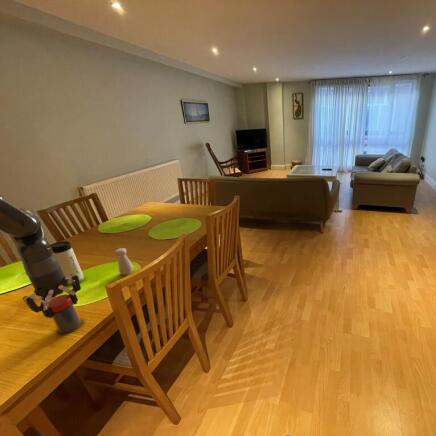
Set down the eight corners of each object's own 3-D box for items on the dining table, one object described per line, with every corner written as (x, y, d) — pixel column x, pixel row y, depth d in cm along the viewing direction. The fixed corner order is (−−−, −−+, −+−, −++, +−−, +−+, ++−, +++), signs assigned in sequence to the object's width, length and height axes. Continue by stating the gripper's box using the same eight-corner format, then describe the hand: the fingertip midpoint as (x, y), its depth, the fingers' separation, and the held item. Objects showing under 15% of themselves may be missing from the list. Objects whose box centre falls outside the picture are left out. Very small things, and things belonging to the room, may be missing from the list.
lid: (77, 299, 86) (74, 294, 85) (62, 312, 80) (59, 306, 79) (58, 300, 86) (56, 294, 85) (42, 313, 80) (39, 307, 79)
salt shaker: (137, 270, 119) (130, 247, 114) (127, 277, 114) (119, 253, 109) (127, 268, 120) (120, 245, 115) (117, 275, 115) (109, 251, 110)
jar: (68, 334, 83) (56, 309, 79) (54, 332, 84) (41, 307, 80) (85, 321, 89) (74, 297, 84) (71, 319, 90) (60, 295, 85)
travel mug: (65, 280, 111) (48, 242, 103) (83, 275, 115) (68, 238, 108) (66, 287, 107) (48, 248, 99) (84, 281, 111) (69, 242, 103)
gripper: (19, 285, 69) (42, 328, 76) (76, 260, 82) (92, 299, 88) (6, 279, 72) (30, 321, 78) (63, 256, 84) (80, 294, 91)
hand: (63, 309), depth 83 cm, fingers closed on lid, 6 cm apart
